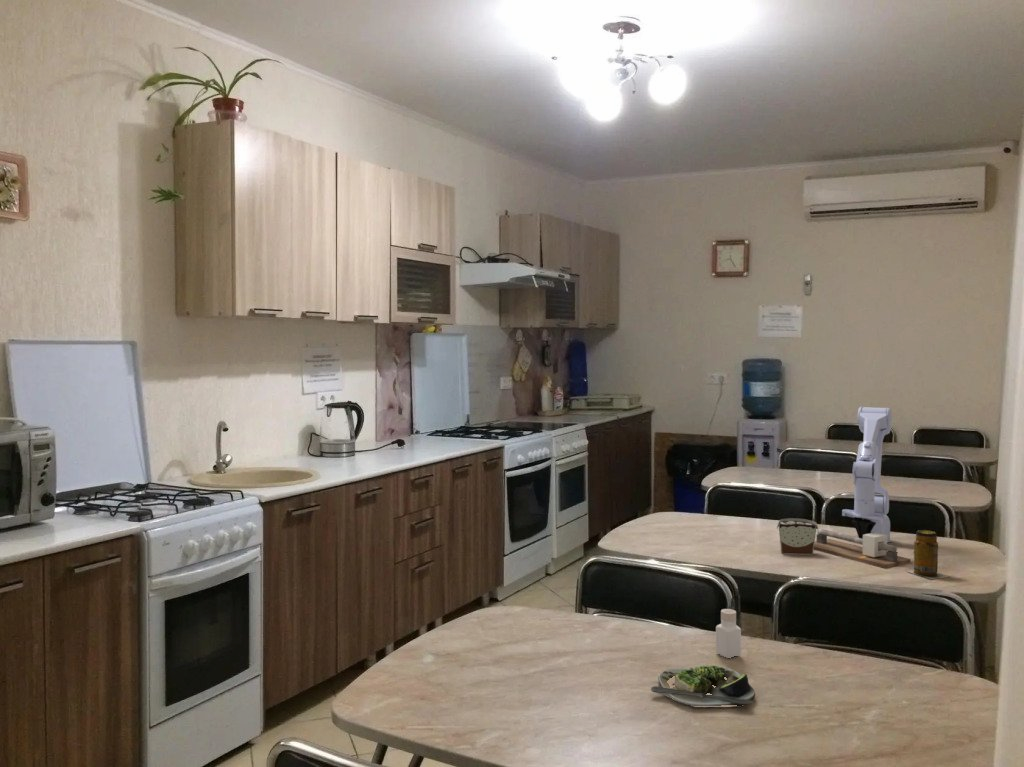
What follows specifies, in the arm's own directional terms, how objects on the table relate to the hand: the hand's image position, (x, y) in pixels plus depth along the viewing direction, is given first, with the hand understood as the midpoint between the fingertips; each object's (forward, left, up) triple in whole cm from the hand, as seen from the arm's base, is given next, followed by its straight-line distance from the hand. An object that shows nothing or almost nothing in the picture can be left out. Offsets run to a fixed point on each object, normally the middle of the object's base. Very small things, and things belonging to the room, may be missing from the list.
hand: (863, 542), depth 254 cm
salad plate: (+111, +49, -4) cm, 121 cm away
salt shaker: (+95, +38, -4) cm, 102 cm away
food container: (+16, -13, -4) cm, 21 cm away
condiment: (+4, +24, -4) cm, 24 cm away
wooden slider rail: (+3, -1, -3) cm, 4 cm away
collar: (+3, +6, -2) cm, 7 cm away
